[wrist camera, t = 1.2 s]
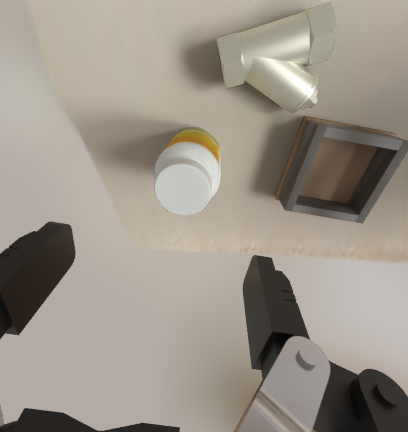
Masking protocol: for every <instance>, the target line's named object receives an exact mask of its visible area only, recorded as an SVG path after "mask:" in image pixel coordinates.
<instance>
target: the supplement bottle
mask: <svg viewBox="0 0 408 432" xmlns="http://www.w3.org/2000/svg"><path fill="white" fill-rule="evenodd" d="M154 178H155V184H154V192H155V196H156V198H157V200H158V202H159V203H160V204H161V206H162V207H163V208H165V209H166V210H167V211H169V212H171V213H173V214H176V215H183V216H186V215H192V214H195V213H198V212H199V211H201V210H202V209H203V208H204V207H205V206H206V205H207V203H208V202H209V200H210V199H211V198H212V197H213V196H214V195H215V193H216V191H217V190H218V187H219V184H220V180H221V154H220V147H219V145H218V142H217V141H216V139H215V138H214V137H213V136H212V135H211V134H210V133H209V132H207V131H206V130H203V129H201V128H196V127H191V128H186V129H183V130H181V131H180V132H178V133H177V134H176V135H175V136H174V137H173V139H172V140H171V141H170V143H169V144H168V145H167V146H166V148H165V149H164V150H163V152H162V153H161V154H160V155H159V157H158V159H157V161H156V164H155V168H154Z"/></svg>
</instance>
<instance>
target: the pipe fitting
mask: <svg viewBox="0 0 408 432" xmlns="http://www.w3.org/2000/svg"><path fill="white" fill-rule="evenodd" d="M335 31H336V23H335V14H334V10H333V7H332V5H331V3H330V2H328V3H325V4H322V5H319V6H316V7H313V8H310V9H307V10H305V11H302V12H301V13H298V14H295V15H292V16H289V17H286V18H283V19H279V20H276V21H273V22H270V23H267V24H264V25H261V26H258V27H255V28H251V29H248V30H245V31H242V32H239V33H238V32H235V33H232V34H229V35H226V36H223V37H220V38H217V46H218V51H219V57H220V63H221V68H222V74H223V79H224V84H225V88H231V87H234V86H238V85H241V84H244V82H245V81H246V82H248V83H249V84H250V85H252V86H253V87H254V88H256V89H257V90H259V91H260V92H261V93H263V94H264V95H266V96H267V97H268V98H270V99H271V100H272V101H274V102H275V103H277V104H278V105H279V106H281V107H282V108H283V109H285V110H286V111H288V112H289V113H293V112H295V111H297V110H298V109H300V108H301V109H303V110H304V109H305V108H307V107H309V108H312V107H313V106H314V105H315V104H316V102H317V100H318V99H317V98H316V96H317V93H318V90H316V87H317V85H318V82H319V77H318V76H317V75H316V74H315V73H314V72H312V71H311V70H310V69H309V68H307V67H306V66H305V65H312V64H316V63H319V62H323V61H326V60H328V59H329V57H330V55H331V52H332V49H333V46H334V41H335Z"/></svg>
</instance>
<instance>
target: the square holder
mask: <svg viewBox="0 0 408 432" xmlns="http://www.w3.org/2000/svg"><path fill="white" fill-rule="evenodd" d="M396 135H397V134H394V133H391V132H386V131H380V130H375V129H370V128H364V127H359V126H354V125H349V124H343V123H338V122H333V121H327V120H322V119H317V118H312V117H306V116H304V118H303V121H302V124H301V127H300V129H299V132H298V135H297V138H296V140H295V143H294V146H293V149H292V151H291V154H290V157H289V160H288V163H287V165H286V168H285V171H284V174H283V176H282V179H281V182H280V185H279V187H278V190H277V193H276V196H275V198H276V200H280V202H281V204H282V206H283V208H284V210H288V211H294V212H300V213H305V214H311V215H317V216H323V217H329V218H334V219H340V220H346V221H352V222H358V223H363V222H364V220H365V218H366V217H367V215H368V214H369V212H370V210H371V209H372V207H373V206H374V204H375V202H376V201H377V199H378V198H379V196H380V194H381V193H382V191H383V190H384V188H385V186H386V185H387V183H388V182H389V180H390V178H391V177H392V175H393V174H394V172H395V170H396V169H397V167H398V166H399V164H400V162H401V161H402V159H403V157H404V156H405V154H406V153H407V151H408V141H406V140H403V139H400V138H397V137H396Z"/></svg>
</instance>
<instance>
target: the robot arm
mask: <svg viewBox="0 0 408 432" xmlns="http://www.w3.org/2000/svg"><path fill="white" fill-rule="evenodd" d="M74 259H75V246H74V241H73V234H72V229H71V226H70V225H68V224H62V223H56V222H48V223H46V224H45V225H44V226H43V227H42V228H40V229H39V230H38V231H37V232H35V231H33V232H31V233H29V234H27V235H25V236H23V237H20V238H19V239H18V240H17V241H15V242H14V243H13V244H12V245H10V246H9V248H8V249H5V250H4V251H3V252H2V253H1V254H0V339H1V337H2V336H3V335H4V334H5V333H7V334H14V335H19V334H20V333H21V332H22V330H23V329H24V328H25V326H26V325H27V324H28V322H29V321H30V320H31V318H32V317H33V316H34V314H35V313H36V312H37V310H38V309H39V308H40V306H41V305H42V304H43V303H44V301H45V300H46V298H47V297H48V296H49V294H50V293H51V292H52V291H53V289H54V288H55V287H56V285H57V284H58V283H59V282H60V280H61V279H62V278H63V276H64V275H65V273H66V272H67V271H68V270H69V268H70V267H71V266H72V264H73V262H74ZM243 298H244V305H245V314H246V323H247V332H248V340H249V349H250V357H251V365H252V369H257V370H261V371H262V377H263V380H262V382H261V384H260V385H259V387H258V389H257V391H256V393H255V394H254V396H253V398H252V400H251V402H250V403H249V405H248V407H247V408H246V410H245V412H244V414H243V416H242V417H241V419H240V421H239V423H238V424H237V426H236V428H235V430H234V431H233V432H312V429H313V430H315V431H317V432H408V397H407V395H406V394H405V392H404V391H403V390H402V389H401V388H400V386H399V385H398V384H397V383H396V382H395V381H393V380H392V379H391V378H390V377H388V376H387V375H385V374H383V373H382V372H379V371H377V370H374V369H366V370H363V371H362V372H361V373H360V374H359V375H357V374H355V373H353V372H351V371H349V370H347V369H345V368H342V367H340V366H338V365H336V364H334V363H332V362H330V361H329V360H328V359H327V357H326V355H325V354H324V352H323V351H322V350H321V349H320V347H319V346H318V345H316V344H315V343H314V342H312V341H311V340H310V338H309V336H308V333H307V330H306V327H305V324H304V321H303V318H302V316H301V313H300V310H299V307H298V304H297V303H296V298H295V295H294V294H293V290H292V287H291V284H290V281H289V280H288V279H287V277H286V276H285V275H284V274H283V273H282V271H276V270H275V267H274V264H273V261H272V258H269V257H264V256H257V255H254V256H253V257H252V259H251V262H250V265H249V268H248V270H247V273H246V276H245V279H244V283H243ZM179 430H180V428H179V427H171V426H163V425H155V424H147V423H140V424H135V425H130V426H125V427H120V428H115V429H110V430H105V431H97V430H95V429H93V428H91V427H89V426H87V425H85V424H83V423H81V422H80V421H77V420H76V419H74V418H72V417H70V416H68V415H66V414H64V413H60V412H52V411H44V410H36V409H28V408H25V409H24V410H23V412H22V414H21V416H20V417H19V419H18V421H14V422H11V423H8V424H4V422H3V414H2V410H1V407H0V432H179Z"/></svg>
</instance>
